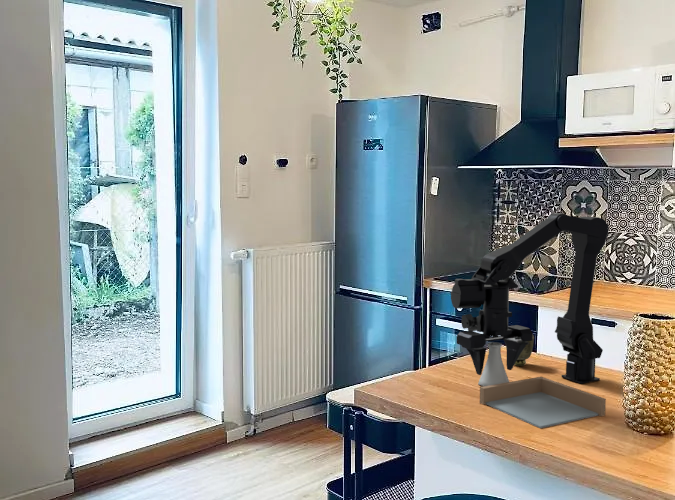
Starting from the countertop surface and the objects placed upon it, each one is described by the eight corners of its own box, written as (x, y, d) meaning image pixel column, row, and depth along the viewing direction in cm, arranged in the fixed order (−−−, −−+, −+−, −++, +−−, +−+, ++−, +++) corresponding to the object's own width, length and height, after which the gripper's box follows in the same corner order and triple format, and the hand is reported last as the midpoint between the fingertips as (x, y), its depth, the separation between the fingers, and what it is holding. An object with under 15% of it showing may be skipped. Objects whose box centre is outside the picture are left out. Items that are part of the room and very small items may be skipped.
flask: (472, 385, 152) (473, 343, 151) (488, 378, 157) (488, 338, 156) (500, 391, 147) (501, 348, 146) (515, 384, 152) (516, 343, 152)
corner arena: (540, 391, 147) (541, 376, 147) (605, 415, 132) (605, 398, 131) (479, 402, 139) (480, 387, 139) (540, 429, 123) (540, 412, 123)
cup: (528, 370, 165) (529, 339, 164) (500, 365, 169) (501, 335, 168) (536, 363, 171) (537, 334, 171) (509, 359, 175) (510, 330, 175)
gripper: (503, 298, 162) (501, 359, 163) (442, 304, 153) (441, 368, 155) (535, 305, 152) (533, 370, 154) (472, 312, 144) (471, 380, 145)
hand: (494, 372), depth 152 cm, fingers open, 9 cm apart
